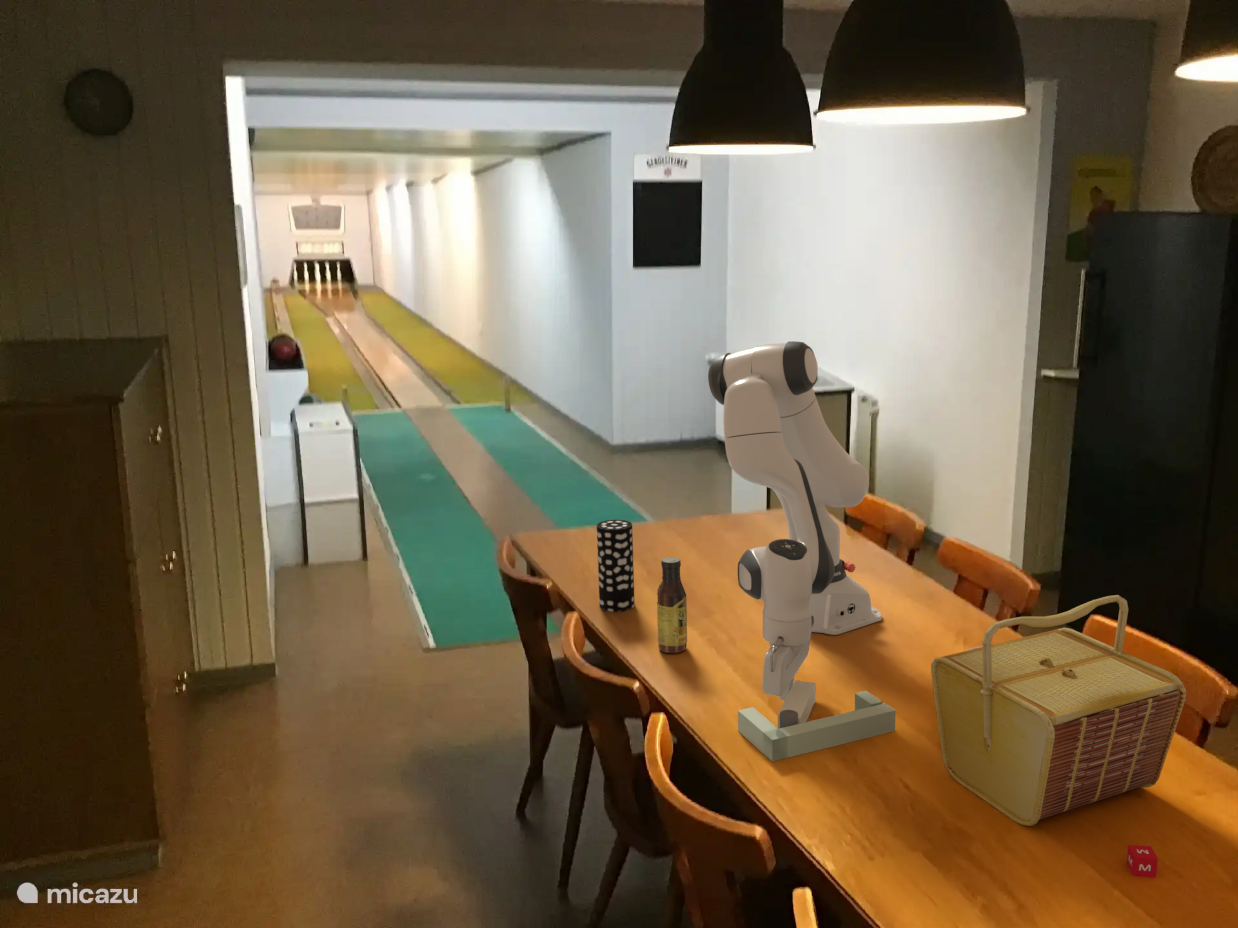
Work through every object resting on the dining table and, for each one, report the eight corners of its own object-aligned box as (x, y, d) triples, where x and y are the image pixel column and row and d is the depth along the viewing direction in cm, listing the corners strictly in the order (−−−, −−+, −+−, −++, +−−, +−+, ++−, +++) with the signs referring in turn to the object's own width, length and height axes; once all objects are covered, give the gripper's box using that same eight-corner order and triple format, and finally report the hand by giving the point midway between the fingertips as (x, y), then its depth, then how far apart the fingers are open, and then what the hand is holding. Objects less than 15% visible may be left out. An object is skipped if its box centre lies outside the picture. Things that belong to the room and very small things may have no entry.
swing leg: (798, 742, 186) (798, 719, 185) (775, 739, 188) (775, 716, 186) (815, 701, 201) (815, 679, 200) (794, 698, 203) (794, 677, 202)
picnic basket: (1037, 849, 154) (1050, 656, 147) (920, 767, 177) (927, 597, 170) (1181, 800, 165) (1200, 619, 158) (1054, 729, 188) (1065, 568, 181)
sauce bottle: (685, 655, 223) (683, 565, 219) (655, 654, 225) (653, 564, 220) (689, 643, 230) (687, 555, 225) (660, 641, 231) (658, 554, 226)
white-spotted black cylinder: (594, 609, 251) (590, 528, 246) (607, 597, 258) (604, 518, 254) (626, 613, 248) (624, 531, 243) (639, 601, 255) (637, 521, 251)
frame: (855, 703, 200) (856, 683, 199) (894, 730, 189) (895, 710, 188) (738, 730, 191) (738, 710, 190) (772, 761, 180) (772, 739, 179)
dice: (1132, 876, 147) (1134, 856, 146) (1126, 863, 150) (1128, 844, 149) (1155, 877, 147) (1157, 858, 146) (1149, 864, 149) (1150, 845, 149)
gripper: (788, 651, 185) (787, 724, 189) (816, 611, 204) (815, 678, 207) (753, 646, 188) (753, 718, 191) (784, 607, 206) (783, 673, 209)
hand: (785, 697), depth 199 cm, fingers closed
